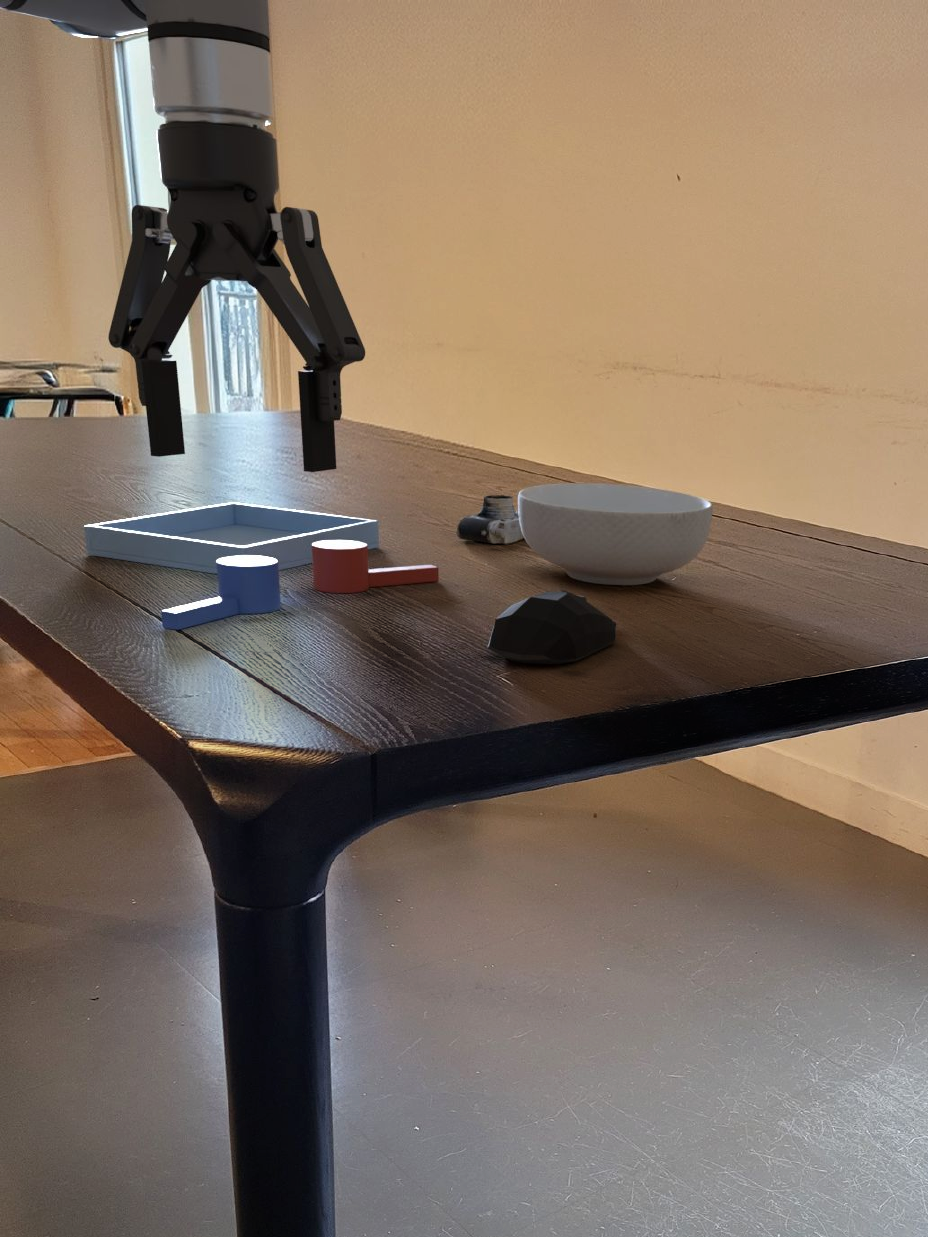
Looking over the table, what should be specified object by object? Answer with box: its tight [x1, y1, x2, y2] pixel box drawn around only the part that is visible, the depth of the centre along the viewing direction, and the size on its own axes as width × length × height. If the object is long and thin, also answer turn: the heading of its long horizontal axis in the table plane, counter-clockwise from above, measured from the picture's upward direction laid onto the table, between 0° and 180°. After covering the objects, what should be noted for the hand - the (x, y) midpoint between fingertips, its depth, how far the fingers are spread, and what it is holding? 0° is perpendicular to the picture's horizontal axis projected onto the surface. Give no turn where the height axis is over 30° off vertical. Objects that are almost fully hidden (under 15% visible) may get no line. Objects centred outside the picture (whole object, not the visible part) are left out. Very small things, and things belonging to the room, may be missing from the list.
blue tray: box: [83, 502, 380, 575], centre depth 118 cm, size 17×19×2 cm
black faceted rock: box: [487, 589, 617, 665], centre depth 90 cm, size 6×15×4 cm, turn 154°
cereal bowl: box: [517, 482, 714, 586], centre depth 114 cm, size 17×17×7 cm
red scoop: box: [312, 540, 440, 594], centre depth 106 cm, size 11×4×4 cm, turn 126°
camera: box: [455, 494, 525, 545], centre depth 131 cm, size 5×10×4 cm, turn 152°
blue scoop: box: [160, 556, 282, 631], centre depth 94 cm, size 11×4×4 cm, turn 156°
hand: (242, 463), depth 93 cm, fingers open, 13 cm apart
